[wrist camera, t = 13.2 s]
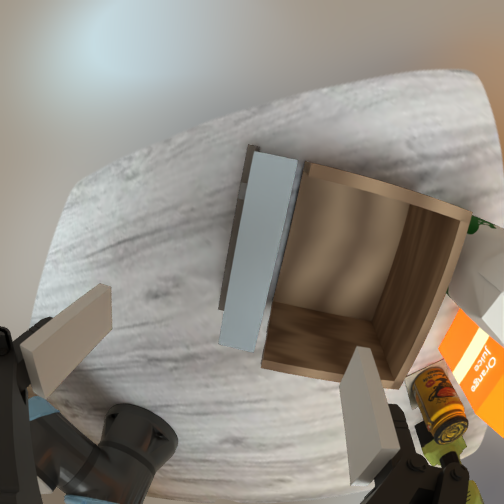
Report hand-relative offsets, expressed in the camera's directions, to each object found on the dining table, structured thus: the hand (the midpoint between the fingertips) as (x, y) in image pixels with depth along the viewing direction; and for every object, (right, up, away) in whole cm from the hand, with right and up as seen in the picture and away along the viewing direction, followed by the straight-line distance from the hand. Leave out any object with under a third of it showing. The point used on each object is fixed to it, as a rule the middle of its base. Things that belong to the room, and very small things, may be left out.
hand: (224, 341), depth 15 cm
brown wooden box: (+9, +5, +21) cm, 24 cm away
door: (+3, +7, +21) cm, 23 cm away
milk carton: (+26, +6, +19) cm, 32 cm away
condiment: (+29, -17, +25) cm, 42 cm away
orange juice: (+33, -7, +22) cm, 40 cm away
